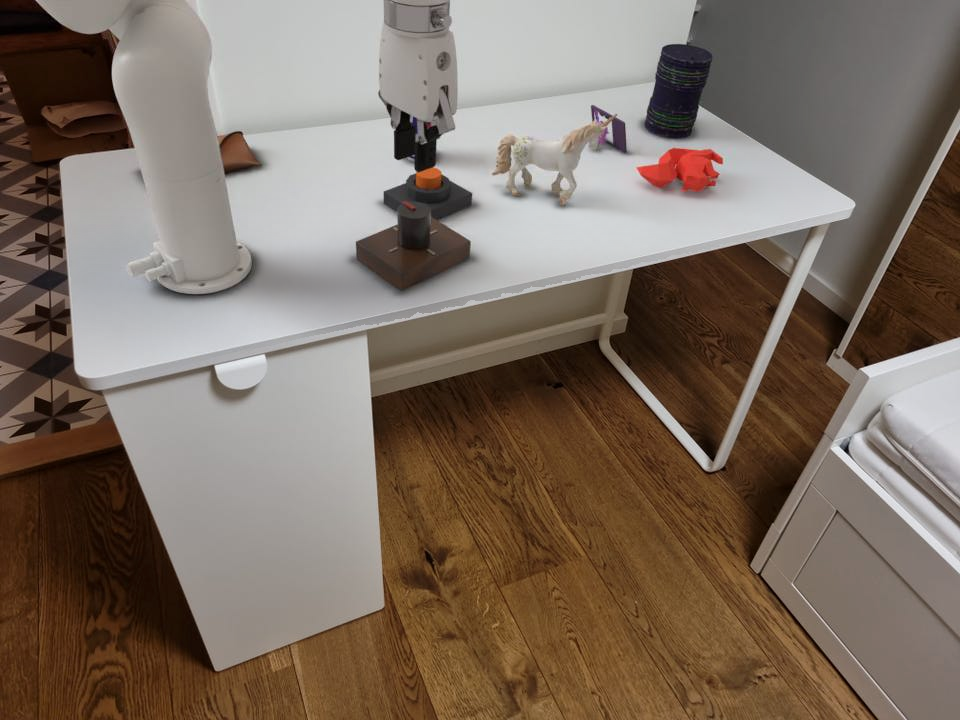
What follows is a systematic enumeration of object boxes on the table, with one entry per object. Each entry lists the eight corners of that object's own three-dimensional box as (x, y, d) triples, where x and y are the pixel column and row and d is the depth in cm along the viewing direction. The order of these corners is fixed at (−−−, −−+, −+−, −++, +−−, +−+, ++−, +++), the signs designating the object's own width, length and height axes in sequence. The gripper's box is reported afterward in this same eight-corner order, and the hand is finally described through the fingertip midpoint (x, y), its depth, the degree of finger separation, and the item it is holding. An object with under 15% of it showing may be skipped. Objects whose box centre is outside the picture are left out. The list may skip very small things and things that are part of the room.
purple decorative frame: (628, 120, 131) (595, 102, 136) (606, 134, 130) (574, 116, 135) (629, 150, 136) (597, 132, 141) (609, 164, 135) (577, 145, 140)
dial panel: (401, 291, 98) (401, 272, 96) (356, 259, 103) (355, 240, 101) (469, 258, 106) (471, 240, 103) (424, 229, 111) (425, 211, 108)
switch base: (420, 227, 111) (420, 204, 108) (383, 203, 116) (383, 181, 113) (471, 205, 117) (473, 183, 115) (434, 183, 122) (435, 161, 119)
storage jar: (637, 117, 149) (654, 42, 139) (683, 118, 150) (703, 44, 140) (651, 138, 142) (670, 61, 132) (699, 139, 143) (721, 63, 133)
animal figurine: (624, 178, 128) (630, 151, 125) (684, 162, 135) (691, 136, 131) (669, 208, 121) (676, 181, 118) (730, 190, 128) (739, 163, 124)
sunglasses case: (156, 189, 113) (140, 146, 111) (148, 193, 118) (133, 152, 117) (265, 164, 121) (252, 124, 120) (253, 169, 127) (240, 130, 125)
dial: (436, 242, 102) (437, 209, 99) (411, 253, 100) (412, 220, 96) (415, 228, 105) (416, 196, 101) (391, 239, 102) (390, 206, 99)
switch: (427, 193, 112) (427, 181, 110) (410, 182, 114) (410, 171, 112) (446, 185, 114) (446, 173, 113) (429, 175, 116) (429, 164, 115)
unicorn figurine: (609, 209, 119) (625, 132, 111) (492, 203, 118) (499, 125, 109) (602, 188, 125) (617, 113, 116) (490, 182, 123) (497, 106, 114)
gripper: (490, 28, 80) (479, 178, 92) (396, -9, 89) (396, 133, 101) (440, 40, 76) (435, 196, 88) (346, -1, 84) (353, 147, 96)
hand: (414, 161), depth 94 cm, fingers open, 3 cm apart
